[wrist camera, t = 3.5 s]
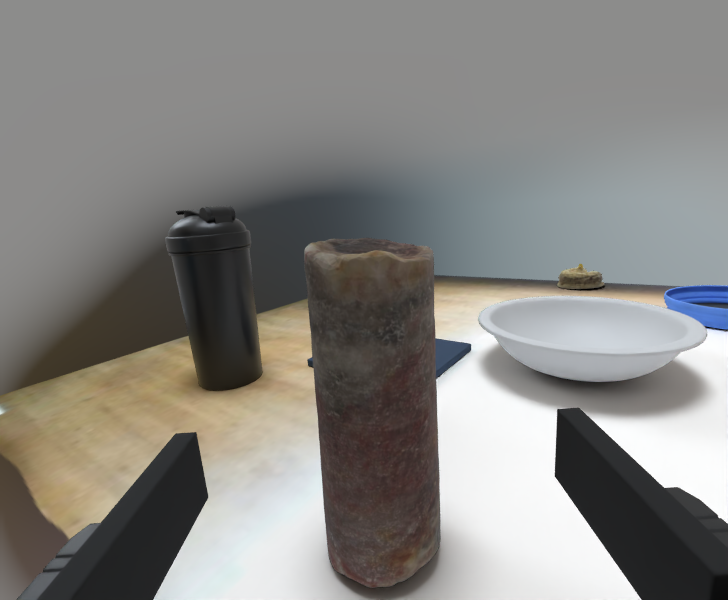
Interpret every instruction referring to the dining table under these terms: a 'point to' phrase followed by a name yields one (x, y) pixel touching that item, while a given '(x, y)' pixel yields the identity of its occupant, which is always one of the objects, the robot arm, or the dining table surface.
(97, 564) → the robot arm
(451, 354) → the mat
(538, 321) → the soup bowl
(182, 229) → the water bottle
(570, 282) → the cake
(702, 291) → the bowl
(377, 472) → the candle
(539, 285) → the dining table surface
